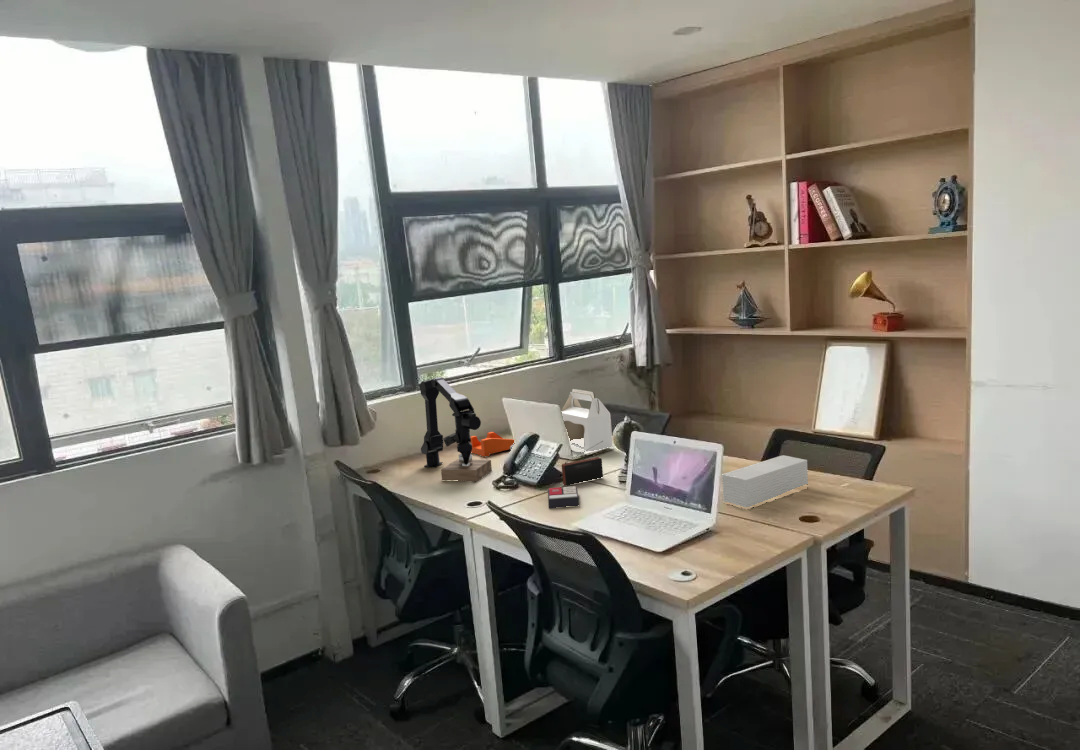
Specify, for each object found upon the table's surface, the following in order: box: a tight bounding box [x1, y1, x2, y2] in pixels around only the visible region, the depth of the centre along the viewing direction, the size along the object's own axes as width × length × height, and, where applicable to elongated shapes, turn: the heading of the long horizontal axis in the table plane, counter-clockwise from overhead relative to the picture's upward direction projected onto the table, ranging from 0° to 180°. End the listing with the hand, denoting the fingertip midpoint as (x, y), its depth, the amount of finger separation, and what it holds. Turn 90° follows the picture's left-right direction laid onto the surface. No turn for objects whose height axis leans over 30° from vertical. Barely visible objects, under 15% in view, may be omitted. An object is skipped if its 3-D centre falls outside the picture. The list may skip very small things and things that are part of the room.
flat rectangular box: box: [547, 485, 580, 509], centre depth 286 cm, size 11×4×15 cm
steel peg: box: [458, 453, 473, 466], centre depth 330 cm, size 6×6×8 cm
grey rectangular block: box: [721, 455, 809, 507], centre depth 272 cm, size 32×11×11 cm, turn 124°
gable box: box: [560, 388, 614, 451], centre depth 357 cm, size 22×13×28 cm, turn 34°
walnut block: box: [440, 458, 492, 482], centre depth 330 cm, size 16×16×5 cm
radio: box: [561, 441, 604, 486], centre depth 307 cm, size 19×3×15 cm, turn 114°
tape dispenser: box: [470, 431, 515, 458], centre depth 370 cm, size 18×13×8 cm
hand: (465, 462), depth 330 cm, fingers closed on steel peg, 5 cm apart
